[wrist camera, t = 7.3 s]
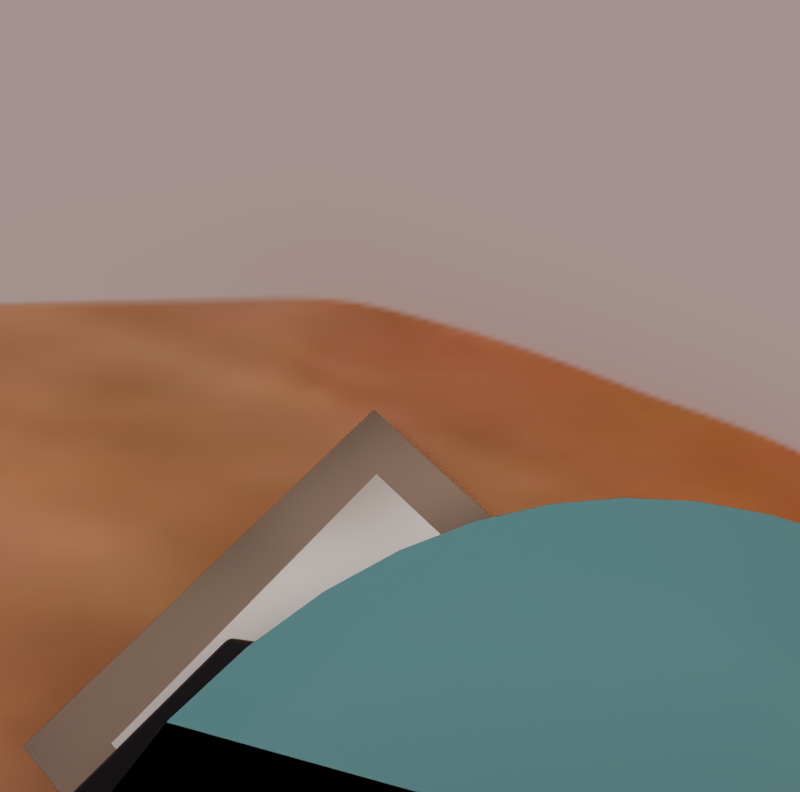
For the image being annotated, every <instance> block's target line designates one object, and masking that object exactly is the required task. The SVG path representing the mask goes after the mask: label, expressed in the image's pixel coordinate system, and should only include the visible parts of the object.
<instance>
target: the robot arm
mask: <svg viewBox="0 0 800 792" xmlns="http://www.w3.org/2000/svg"><path fill="white" fill-rule="evenodd" d="M253 642H255V641H248V640H241V639H235V638H231V639H228V640H227V641H225V642H224V643H223V644H222V645H221V646H220V647H219V648H218V649H217V650H216V651H215V652H214V653H213V654H212V655H211V656H210V657H209V658H208V659H207V660H206V661H205V662H204V663H203V664H202V665H201V666H200V667H199V668H198V669H197V670H196V671H195V672H194V673H193V674H192V675H191V676H190V677H189V678H188V679H187V680H186V681H185V682H184V683H183V684H182V685H181V686H180V687H179V688H178V689H177V690H176V691H175V692H174V693H173V694H172V695H171V696H170V697H169V698H168V699H166V700H165V701H164V702H163V703H162V704H161V705H160V706H159V707H158V708H157V709H156V710H155V711H154V712H153V713H152V714H151V715H150V716H149V717H148V718H147V719H146V720H145V721H144V722H143V723H142V724H141V725H140V726H139V727H138V728H137V729H136V730H135V731H134V732H133V733H132V734H131V735H130V736H129V737H128V738H127V739H126V740H125V741H124V742H123V743H122V744H121V745H120V746H119V747H118V748H117V749H116V750H115V751H114V752H113V753H112V754H111V755H110V756H109V757H108V758H107V759H106V760H105V761H104V762H103V763H102V764H101V765H100V766H99V767H98V768H97V769H96V770H95V771H94V772H93V773H92V774H91V775H90V776H89V777H88V778H87V779H86V780H85V781H84V782H83V783H82V784H81V785H80V786H79V787H78V788H77V789H76V790H75V791H74V792H112V791H113V789H114V788H115V787H116V786H117V784H118V783H119V782H120V780H121V779H122V778H123V777H124V775H125V774H126V773H127V772H128V770H129V769H130V768H131V767H132V765H133V764H134V763H135V761H136V760H137V759H138V758H139V756H140V755H141V754H142V753H143V751H144V750H145V749H146V748H147V746H148V745H149V744H150V743H151V741H152V740H153V739H154V737H155V736H156V735H157V734H158V732H159V731H160V730H161V729H162V727H163V726H164V725H165V724H166V722H167V721H168V720H169V719H170V718H171V717H172V716H173V715H174V714H175V713H177V712H178V711H179V710H180V709H181V708H182V707H183V706H184V705H185V704H186V703H187V702H188V701H189V700H191V699H192V698H193V697H194V696H195V695H196V694H197V693H198V692H199V691H200V690H201V689H202V688H203V687H205V686H206V685H207V684H208V683H209V682H210V681H211V680H212V679H213V678H214V677H215V676H216V675H217V674H219V673H220V672H221V671H222V670H223V669H224V668H225V667H226V666H227V665H228V664H229V663H230V662H231V661H233V660H234V659H235V658H236V657H237V656H238V655H239V654H240V653H241V652H242V651H243V650H244V649H245V648H247V647H248V646H249V645H251V644H252V643H253ZM242 745H243V743H239V742H237V744H236V745H235V746H234V747H233V748H232V749H231V750H230V751H229V753H228V754H227V756H226V758H225V761H224V763H223V765H222V767H221V770H220V772H219V774H218V777H217V779H216V782H215V784H214V787H213V789H212V792H231V789H232V785H233V781H234V777H235V773H236V769H237V765H238V761H239V757H240V753H241V749H242Z"/></svg>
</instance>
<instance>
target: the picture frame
mask: <svg viewBox="0 0 800 792" xmlns="http://www.w3.org/2000/svg"><path fill="white" fill-rule="evenodd" d="M488 518H492V517H491V516H490V515H489V514H488V513H486V512H485V511H484V510H483V509H482V508H481V507H480V506H479V505H478V504H477V503H476V502H474V501H473V500H472V499H471V498H470V497H469V496H468V495H467V494H466V493H465V492H463V491H462V490H461V489H460V488H459V487H458V486H457V485H456V484H455V483H454V482H453V481H451V480H450V479H449V478H448V477H447V476H446V475H445V474H444V473H443V472H442V471H440V470H439V469H438V468H437V467H436V466H435V465H434V464H433V463H432V462H431V461H429V460H428V459H427V458H426V457H425V456H424V455H423V454H422V453H421V452H420V451H419V450H417V449H416V448H415V447H414V446H413V445H412V444H411V443H410V442H409V441H408V440H406V439H405V438H404V437H403V436H402V435H401V434H400V433H399V432H398V431H397V430H396V429H394V428H393V427H392V426H391V425H390V424H389V423H388V422H387V421H386V420H385V419H383V418H382V417H381V416H380V415H379V414H378V413H377V412H376V411H375V410H373V411H372V412H371V413H370V414H369V415H368V416H367V417H366V418H365V419H364V420H363V421H362V422H360V423H359V424H358V425H357V426H356V427H355V428H354V429H353V430H352V431H351V432H350V433H349V434H348V435H347V436H346V437H345V438H344V439H343V440H342V441H341V442H340V443H339V444H338V445H336V446H335V447H334V448H333V449H332V450H331V451H330V452H329V453H328V454H327V455H326V456H325V457H324V458H323V459H322V460H321V461H320V462H319V463H318V464H317V465H316V466H315V467H314V468H313V469H311V470H310V471H309V472H308V473H307V474H306V475H305V476H304V477H303V478H302V479H301V480H300V481H299V482H298V483H297V484H296V485H295V486H294V487H293V488H292V489H291V490H290V491H289V492H287V493H286V494H285V495H284V496H283V497H282V498H281V499H280V500H279V501H278V502H277V503H276V504H275V505H274V506H273V507H272V508H271V509H270V510H269V511H268V512H267V513H266V514H265V515H263V516H262V517H261V518H260V519H259V520H258V521H257V522H256V523H255V524H254V525H253V526H252V527H251V528H250V529H249V530H248V531H247V532H246V533H245V534H244V535H243V536H242V537H241V538H240V539H238V540H237V541H236V542H235V543H234V544H233V545H232V546H231V547H230V548H229V549H228V550H227V551H226V552H225V553H224V554H223V555H222V556H221V557H220V558H219V559H218V560H217V561H216V562H214V563H213V564H212V565H211V566H210V567H209V568H208V569H207V570H206V571H205V572H204V573H203V574H202V575H201V576H200V577H199V578H198V579H197V580H196V581H195V582H194V583H193V584H192V585H190V586H189V587H188V588H187V589H186V590H185V591H184V592H183V593H182V594H181V595H180V596H179V597H178V598H177V599H176V600H175V601H174V602H173V603H172V604H171V605H170V606H169V607H168V608H167V609H165V610H164V611H163V612H162V613H161V614H160V615H159V616H158V617H157V618H156V619H155V620H154V621H153V622H152V623H151V624H150V625H149V626H148V627H147V628H146V629H145V630H144V631H143V632H141V633H140V634H139V635H138V636H137V637H136V638H135V639H134V640H133V641H132V642H131V643H130V644H129V645H128V646H127V647H126V648H125V649H124V650H123V651H122V652H121V653H120V654H119V655H117V656H116V657H115V658H114V659H113V660H112V661H111V662H110V663H109V664H108V665H107V666H106V667H105V668H104V669H103V670H102V671H101V672H100V673H99V674H98V675H97V676H96V677H95V678H94V679H92V680H91V681H90V682H89V683H88V684H87V685H86V686H85V687H84V688H83V689H82V690H81V691H80V692H79V693H78V694H77V695H76V696H75V697H74V698H73V699H72V700H71V701H70V702H68V703H67V704H66V705H65V706H64V707H63V708H62V709H61V710H60V711H59V712H58V713H57V714H56V715H55V716H54V717H53V718H52V719H51V720H50V721H49V722H48V723H47V724H46V725H44V726H43V727H42V728H41V729H40V730H39V731H38V732H37V733H36V734H35V735H34V736H33V737H32V738H31V739H30V740H29V741H28V742H27V743H26V744H25V745H24V746H23V748H24V749H25V750H26V751H27V753H28V754H29V755H30V756H31V758H32V759H33V760H34V761H35V763H36V764H37V765H38V766H39V768H40V769H41V770H42V771H43V773H44V774H45V775H46V776H47V778H48V779H49V780H50V781H51V783H52V784H53V785H54V786H55V788H56V789H57V790H58V791H59V792H74V791H75V790H76V789H77V788H78V787H79V786H80V785H81V784H82V783H83V782H84V781H85V780H86V779H87V778H88V777H89V776H90V775H91V774H92V773H93V772H94V771H95V770H96V769H97V768H98V767H99V766H100V765H101V764H102V763H103V762H104V761H105V760H106V759H107V758H108V757H109V756H110V755H111V754H112V753H113V752H114V751H115V750H116V749H117V748H118V747H119V746H120V745H121V744H122V743H123V742H124V741H125V740H126V739H127V738H128V737H129V736H130V735H131V734H132V733H133V732H134V731H135V730H136V729H137V728H138V727H139V726H140V725H141V724H142V723H143V722H144V721H145V720H146V719H147V718H148V717H149V716H150V715H151V714H152V713H153V712H154V711H155V710H156V709H157V708H158V707H159V706H160V705H161V704H162V703H163V702H164V701H165V700H166V699H168V698H169V697H170V696H171V695H172V694H173V693H174V692H175V691H176V690H177V689H178V688H179V687H180V686H181V685H182V684H183V683H184V682H185V681H186V680H187V679H188V678H189V677H190V676H191V675H192V674H193V673H194V672H195V671H196V670H197V669H198V668H199V667H200V666H201V665H202V664H203V663H204V662H205V661H206V660H207V659H208V658H209V657H210V656H211V655H212V654H213V653H214V652H215V651H216V650H217V649H218V648H219V647H220V646H221V645H222V644H223V643H224V642H225V641H227V640H228V639H231V638H235V639H241V640H248V641H256V640H258V639H259V638H260V637H262V636H263V635H265V634H266V633H267V632H269V631H270V630H271V629H273V628H274V627H276V626H277V625H278V624H280V623H281V622H282V621H284V620H285V619H287V618H288V617H289V616H291V615H292V614H293V613H295V612H296V611H298V610H299V609H300V608H302V607H303V606H304V605H306V604H307V603H309V602H310V601H311V600H313V599H314V598H316V597H317V596H318V595H320V594H321V593H322V592H324V591H326V590H328V589H329V588H331V587H333V586H335V585H337V584H339V583H340V582H342V581H344V580H346V579H348V578H350V577H351V576H353V575H355V574H357V573H359V572H361V571H362V570H364V569H366V568H368V567H370V566H372V565H373V564H375V563H377V562H379V561H381V560H383V559H384V558H386V557H388V556H390V555H392V554H394V553H395V552H397V551H399V550H401V549H404V548H407V547H409V546H412V545H414V544H417V543H420V542H422V541H425V540H428V539H430V538H433V537H435V536H438V535H441V534H443V533H446V532H449V531H451V530H454V529H456V528H459V527H462V526H464V525H467V524H470V523H472V522H475V521H479V520H483V519H488Z"/></svg>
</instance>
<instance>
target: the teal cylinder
mask: <svg viewBox="0 0 800 792" xmlns="http://www.w3.org/2000/svg"><path fill="white" fill-rule="evenodd" d="M237 742H239V743H243V745H242V749H241V753H240V757H239V761H238V765H237V769H236V773H235V777H234V781H233V785H232V789H231V792H800V524H799V523H795V522H792V521H789V520H786V519H783V518H779V517H776V516H773V515H769V514H763V513H758V512H752V511H747V510H741V509H736V508H731V507H725V506H720V505H714V504H709V503H703V502H697V501H678V500H658V499H638V498H616V499H604V500H593V501H581V502H570V503H558V504H549V505H544V506H540V507H536V508H531V509H527V510H522V511H518V512H514V513H509V514H505V515H501V516H496V517H492V518H488V519H483V520H479V521H475V522H472V523H470V524H467V525H464V526H462V527H459V528H456V529H454V530H451V531H449V532H446V533H443V534H441V535H438V536H435V537H433V538H430V539H428V540H425V541H422V542H420V543H417V544H414V545H412V546H409V547H407V548H404V549H401V550H399V551H397V552H395V553H394V554H392V555H390V556H388V557H386V558H384V559H383V560H381V561H379V562H377V563H375V564H373V565H372V566H370V567H368V568H366V569H364V570H362V571H361V572H359V573H357V574H355V575H353V576H351V577H350V578H348V579H346V580H344V581H342V582H340V583H339V584H337V585H335V586H333V587H331V588H329V589H328V590H326V591H324V592H322V593H321V594H320V595H318V596H317V597H316V598H314V599H313V600H311V601H310V602H309V603H307V604H306V605H304V606H303V607H302V608H300V609H299V610H298V611H296V612H295V613H293V614H292V615H291V616H289V617H288V618H287V619H285V620H284V621H282V622H281V623H280V624H278V625H277V626H276V627H274V628H273V629H271V630H270V631H269V632H267V633H266V634H265V635H263V636H262V637H260V638H259V639H258V640H256V641H255V642H253V643H252V644H251V645H249V646H248V647H247V648H245V649H244V650H243V651H242V652H241V653H240V654H239V655H238V656H237V657H236V658H235V659H234V660H233V661H231V662H230V663H229V664H228V665H227V666H226V667H225V668H224V669H223V670H222V671H221V672H220V673H219V674H217V675H216V676H215V677H214V678H213V679H212V680H211V681H210V682H209V683H208V684H207V685H206V686H205V687H203V688H202V689H201V690H200V691H199V692H198V693H197V694H196V695H195V696H194V697H193V698H192V699H191V700H189V701H188V702H187V703H186V704H185V705H184V706H183V707H182V708H181V709H180V710H179V711H178V712H177V713H175V714H174V715H173V716H172V717H171V718H170V719H169V720H168V721H167V722H166V724H165V725H164V726H163V727H162V729H161V730H160V731H159V732H158V734H157V735H156V736H155V737H154V739H153V740H152V741H151V743H150V744H149V745H148V746H147V748H146V749H145V750H144V751H143V753H142V754H141V755H140V756H139V758H138V759H137V760H136V761H135V763H134V764H133V765H132V767H131V768H130V769H129V770H128V772H127V773H126V774H125V775H124V777H123V778H122V779H121V780H120V782H119V783H118V784H117V786H116V787H115V788H114V789H113V791H112V792H212V789H213V787H214V784H215V782H216V779H217V777H218V774H219V772H220V770H221V767H222V765H223V763H224V761H225V758H226V756H227V754H228V753H229V751H230V750H231V749H232V748H233V747H234V746H235V745H236V744H237Z"/></svg>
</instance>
